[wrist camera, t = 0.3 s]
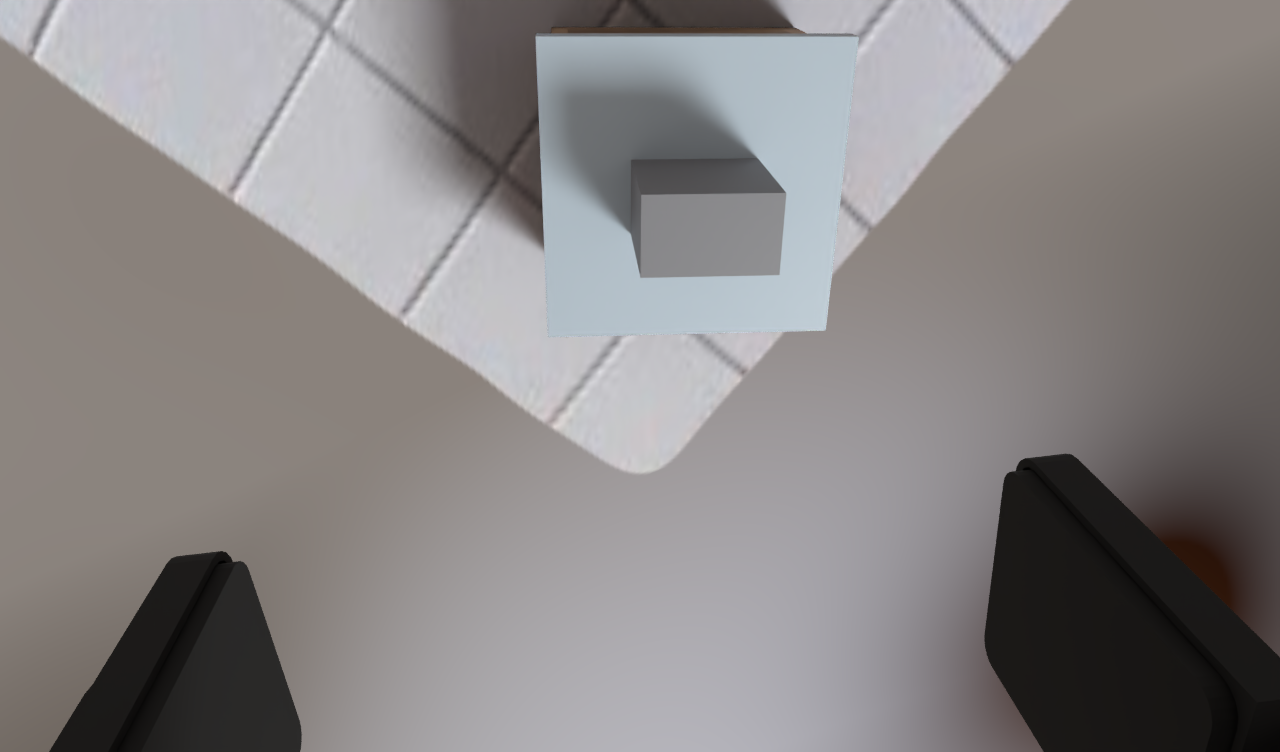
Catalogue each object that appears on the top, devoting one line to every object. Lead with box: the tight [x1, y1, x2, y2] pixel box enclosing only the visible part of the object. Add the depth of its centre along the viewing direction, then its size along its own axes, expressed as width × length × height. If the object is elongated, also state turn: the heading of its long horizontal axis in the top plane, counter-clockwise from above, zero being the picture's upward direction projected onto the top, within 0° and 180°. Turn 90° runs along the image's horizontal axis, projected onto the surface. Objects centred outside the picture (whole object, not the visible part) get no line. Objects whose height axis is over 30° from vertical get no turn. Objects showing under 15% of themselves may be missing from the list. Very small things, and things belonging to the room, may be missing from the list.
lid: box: [535, 33, 859, 337], centre depth 34 cm, size 12×12×6 cm
